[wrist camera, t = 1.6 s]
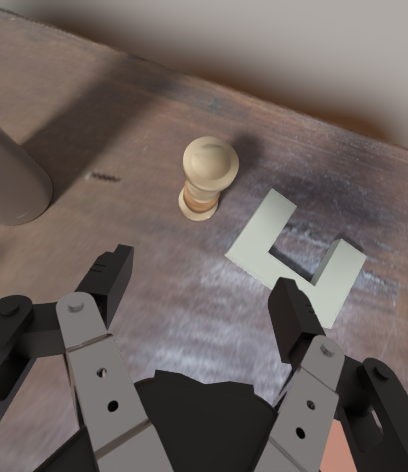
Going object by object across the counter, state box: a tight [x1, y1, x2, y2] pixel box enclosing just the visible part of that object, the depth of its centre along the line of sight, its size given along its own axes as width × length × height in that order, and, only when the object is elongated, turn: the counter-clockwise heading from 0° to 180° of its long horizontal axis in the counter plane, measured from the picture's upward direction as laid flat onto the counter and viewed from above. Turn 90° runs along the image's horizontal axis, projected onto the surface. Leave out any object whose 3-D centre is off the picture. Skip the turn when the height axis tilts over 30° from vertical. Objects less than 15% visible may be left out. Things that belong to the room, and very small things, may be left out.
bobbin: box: [179, 136, 239, 222], centre depth 30 cm, size 6×6×12 cm
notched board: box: [224, 188, 366, 329], centre depth 35 cm, size 17×12×2 cm
